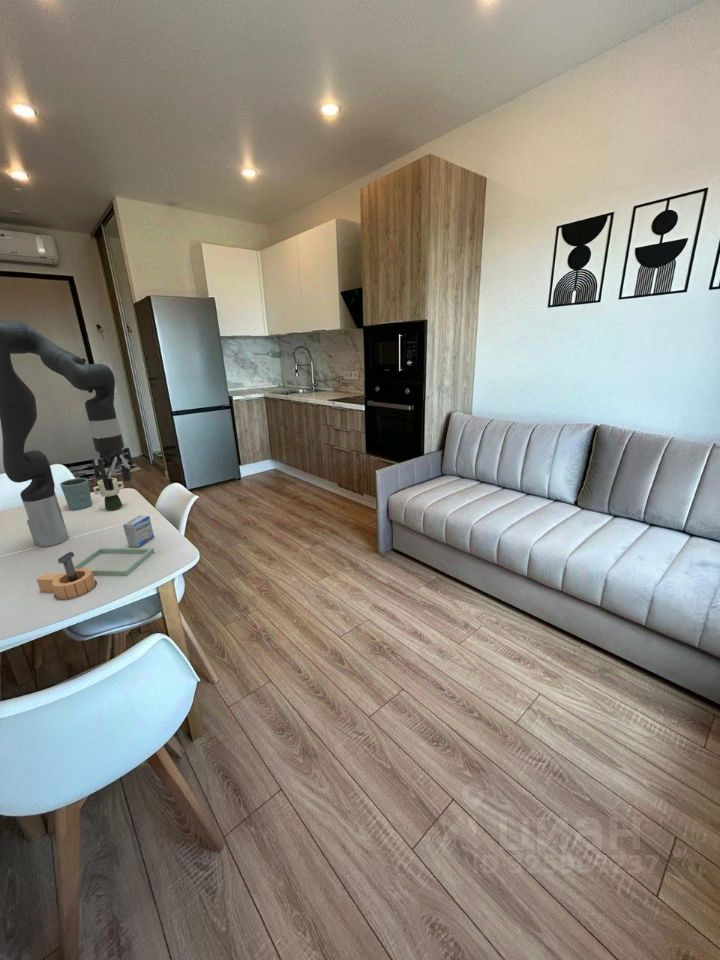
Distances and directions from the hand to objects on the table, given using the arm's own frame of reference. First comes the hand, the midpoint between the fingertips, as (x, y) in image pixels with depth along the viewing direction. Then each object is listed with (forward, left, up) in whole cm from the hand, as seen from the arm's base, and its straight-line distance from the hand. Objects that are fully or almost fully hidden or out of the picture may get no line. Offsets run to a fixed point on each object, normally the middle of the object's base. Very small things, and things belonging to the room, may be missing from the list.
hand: (119, 485), depth 121 cm
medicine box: (-5, +10, -25) cm, 27 cm away
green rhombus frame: (-4, -6, -25) cm, 26 cm away
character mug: (-37, +40, -25) cm, 60 cm away
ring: (-7, -20, -24) cm, 32 cm away
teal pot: (-54, +42, -25) cm, 73 cm away
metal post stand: (-5, -20, -25) cm, 32 cm away
